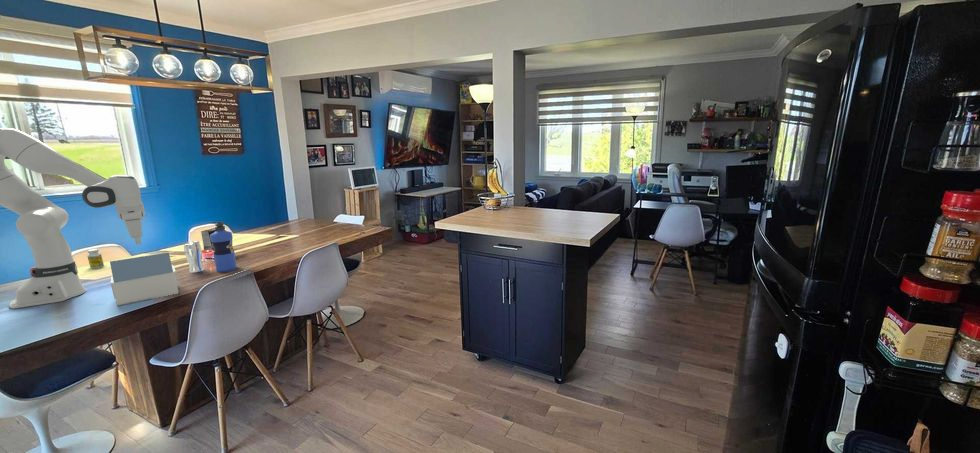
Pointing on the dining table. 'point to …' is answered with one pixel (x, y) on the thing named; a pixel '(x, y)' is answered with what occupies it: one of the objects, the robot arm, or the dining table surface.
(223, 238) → the water bottle
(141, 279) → the carton
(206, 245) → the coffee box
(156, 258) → the front flap
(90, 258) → the supplement bottle
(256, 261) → the dining table surface
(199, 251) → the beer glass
